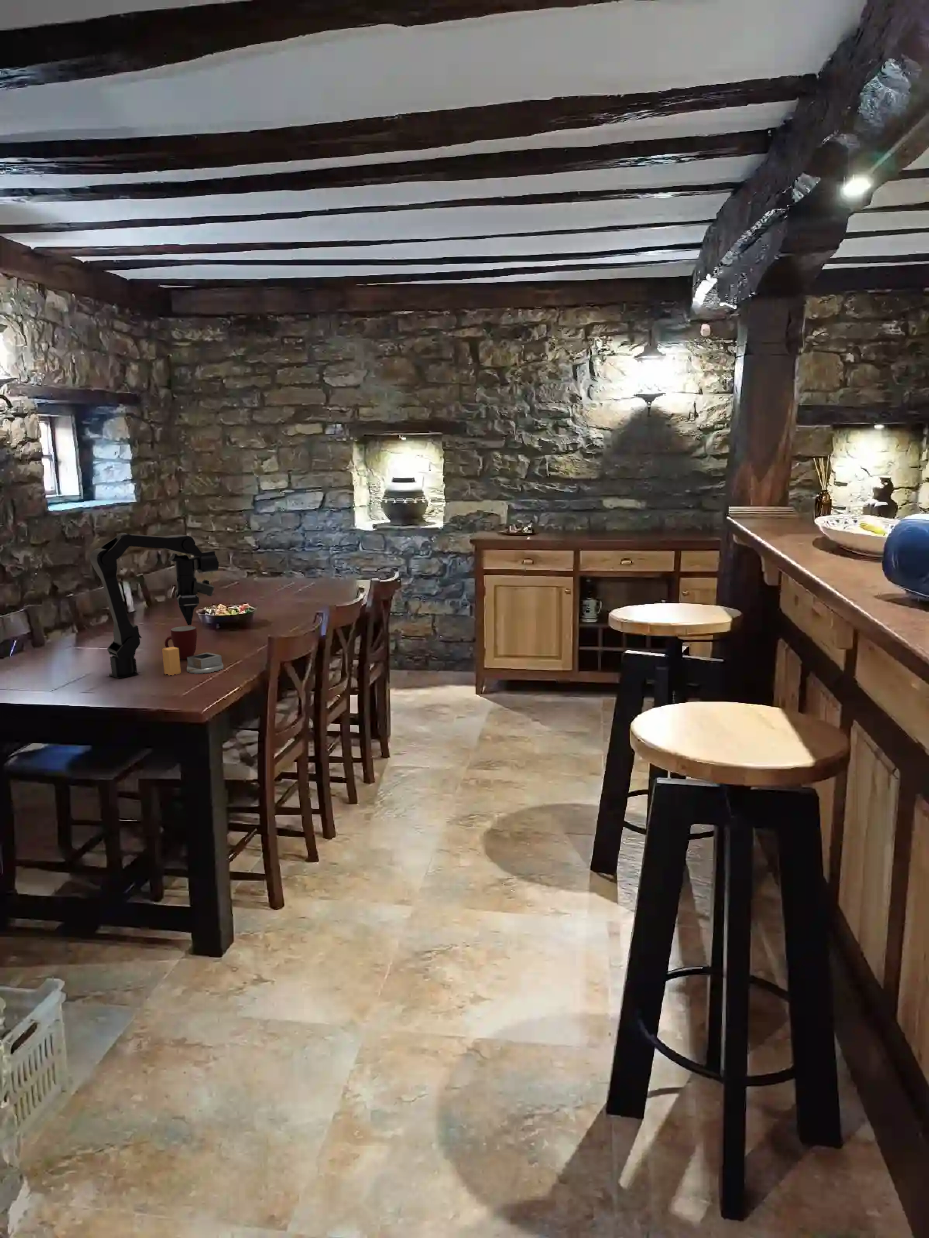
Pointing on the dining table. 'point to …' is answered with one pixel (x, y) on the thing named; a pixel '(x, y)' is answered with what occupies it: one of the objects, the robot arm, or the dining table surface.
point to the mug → (183, 640)
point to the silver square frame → (204, 663)
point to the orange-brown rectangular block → (171, 660)
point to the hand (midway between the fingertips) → (188, 622)
